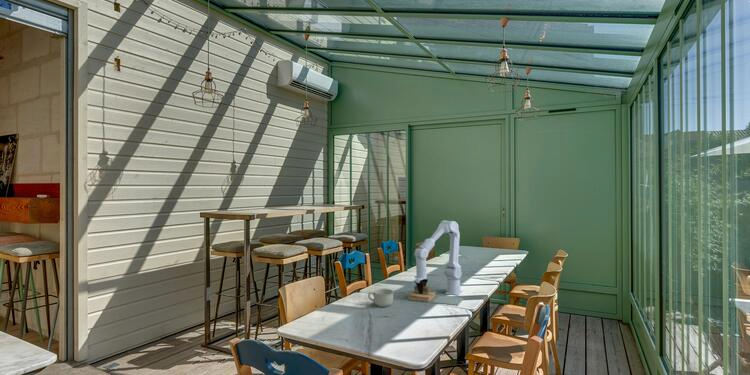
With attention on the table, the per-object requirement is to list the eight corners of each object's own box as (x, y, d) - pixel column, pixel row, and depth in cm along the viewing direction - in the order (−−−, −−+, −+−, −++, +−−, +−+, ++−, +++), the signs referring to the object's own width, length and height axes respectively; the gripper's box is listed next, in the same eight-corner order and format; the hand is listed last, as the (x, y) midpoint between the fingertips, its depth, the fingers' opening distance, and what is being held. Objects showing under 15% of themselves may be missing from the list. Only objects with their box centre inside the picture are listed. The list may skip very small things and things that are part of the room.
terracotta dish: (415, 294, 235) (415, 291, 235) (434, 296, 230) (434, 293, 230) (408, 299, 224) (408, 296, 224) (428, 302, 219) (428, 298, 219)
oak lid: (414, 291, 236) (414, 283, 236) (435, 293, 230) (435, 285, 230) (407, 296, 224) (407, 288, 224) (429, 298, 218) (429, 290, 218)
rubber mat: (439, 296, 230) (439, 295, 230) (463, 299, 224) (463, 298, 224) (432, 303, 217) (432, 302, 217) (457, 305, 211) (457, 304, 211)
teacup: (394, 303, 219) (394, 288, 219) (393, 308, 208) (392, 293, 208) (369, 302, 220) (369, 288, 220) (367, 308, 209) (366, 293, 209)
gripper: (418, 266, 236) (419, 289, 235) (410, 270, 222) (410, 295, 222) (430, 267, 233) (430, 290, 232) (422, 271, 219) (422, 296, 219)
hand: (421, 292), depth 227 cm, fingers closed on oak lid, 3 cm apart
